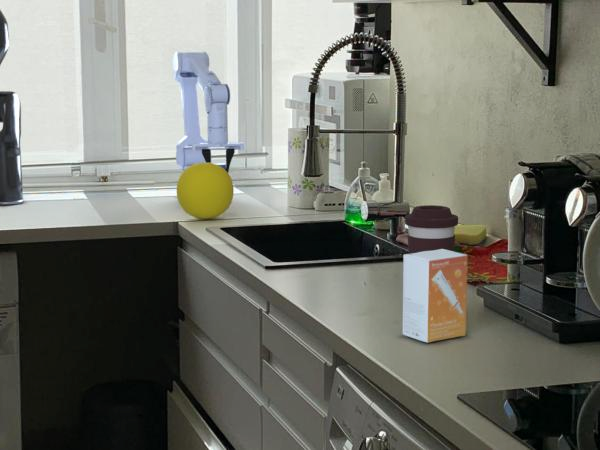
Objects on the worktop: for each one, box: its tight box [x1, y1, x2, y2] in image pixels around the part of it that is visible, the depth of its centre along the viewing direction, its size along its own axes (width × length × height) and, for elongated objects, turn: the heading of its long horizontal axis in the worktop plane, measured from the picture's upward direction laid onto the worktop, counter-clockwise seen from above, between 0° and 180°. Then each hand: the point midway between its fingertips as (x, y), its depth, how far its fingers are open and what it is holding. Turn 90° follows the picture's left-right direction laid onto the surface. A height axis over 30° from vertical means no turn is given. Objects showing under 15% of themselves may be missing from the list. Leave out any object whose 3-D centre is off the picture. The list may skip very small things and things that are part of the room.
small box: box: [402, 249, 469, 344], centre depth 163 cm, size 8×6×13 cm
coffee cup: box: [404, 204, 459, 254], centre depth 197 cm, size 10×10×15 cm
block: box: [213, 162, 226, 170], centre depth 297 cm, size 4×4×5 cm
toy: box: [176, 162, 235, 220], centre depth 278 cm, size 15×15×15 cm
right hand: (218, 175), depth 297 cm, fingers closed on block, 4 cm apart
